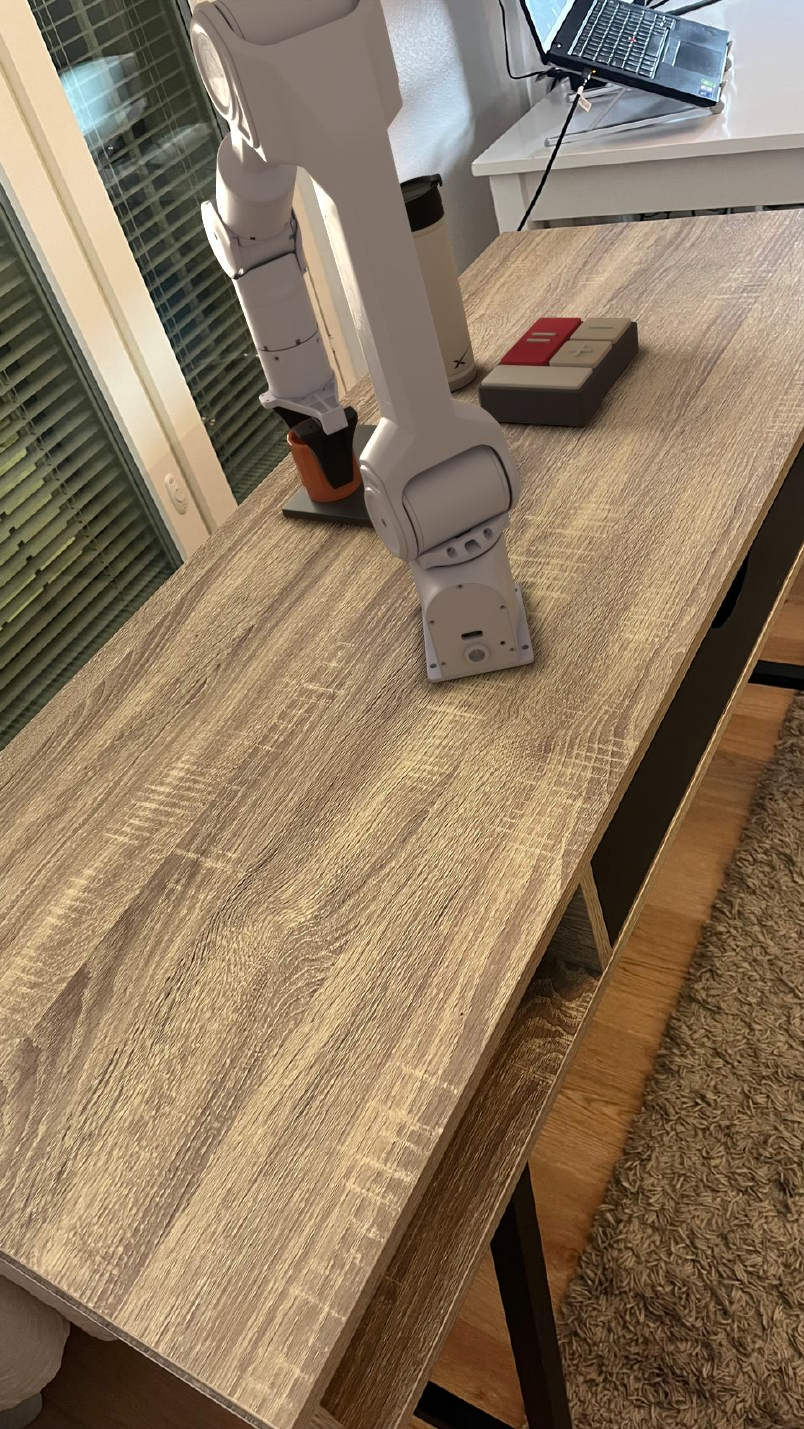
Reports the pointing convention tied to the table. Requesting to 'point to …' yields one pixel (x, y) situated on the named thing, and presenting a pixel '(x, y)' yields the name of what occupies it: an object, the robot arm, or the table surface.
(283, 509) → the scale
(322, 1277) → the table surface
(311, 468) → the cup
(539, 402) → the calculator
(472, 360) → the travel mug
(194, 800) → the table surface
